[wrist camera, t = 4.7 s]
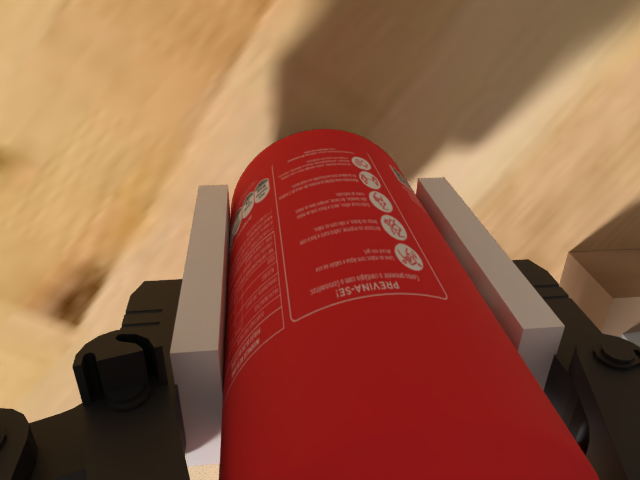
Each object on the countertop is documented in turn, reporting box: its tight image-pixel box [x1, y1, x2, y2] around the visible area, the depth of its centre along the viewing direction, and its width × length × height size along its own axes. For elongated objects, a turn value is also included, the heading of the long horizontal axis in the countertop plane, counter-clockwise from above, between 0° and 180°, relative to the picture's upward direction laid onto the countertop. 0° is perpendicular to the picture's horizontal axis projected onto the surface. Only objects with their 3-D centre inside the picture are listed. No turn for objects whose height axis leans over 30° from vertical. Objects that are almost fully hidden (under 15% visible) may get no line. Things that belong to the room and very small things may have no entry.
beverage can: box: [219, 129, 599, 480], centre depth 12 cm, size 5×5×12 cm
